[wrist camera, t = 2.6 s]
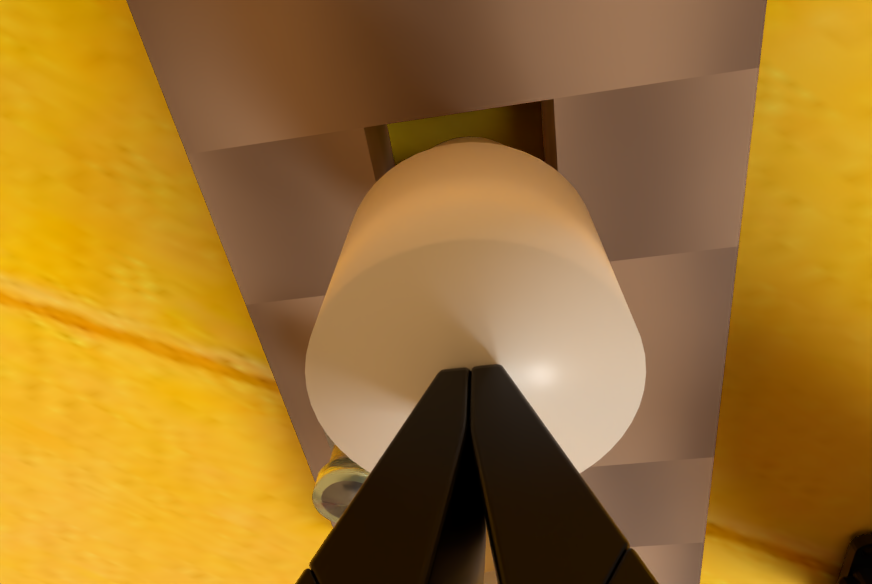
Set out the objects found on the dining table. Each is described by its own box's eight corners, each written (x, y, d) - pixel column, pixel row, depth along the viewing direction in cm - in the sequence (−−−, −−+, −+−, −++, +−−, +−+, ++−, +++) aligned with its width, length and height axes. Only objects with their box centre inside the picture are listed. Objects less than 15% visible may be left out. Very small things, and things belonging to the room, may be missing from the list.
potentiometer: (404, 360, 16) (391, 461, 13) (420, 425, 17) (411, 530, 14) (318, 369, 16) (286, 470, 13) (340, 432, 18) (315, 537, 15)
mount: (719, -138, 13) (783, -151, 10) (672, 530, 24) (697, 603, 21) (180, -34, 14) (117, -23, 11) (379, 549, 25) (369, 620, 23)
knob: (568, 81, 12) (651, 215, 7) (576, 277, 14) (642, 488, 9) (346, 116, 13) (260, 264, 7) (389, 298, 15) (349, 511, 10)
